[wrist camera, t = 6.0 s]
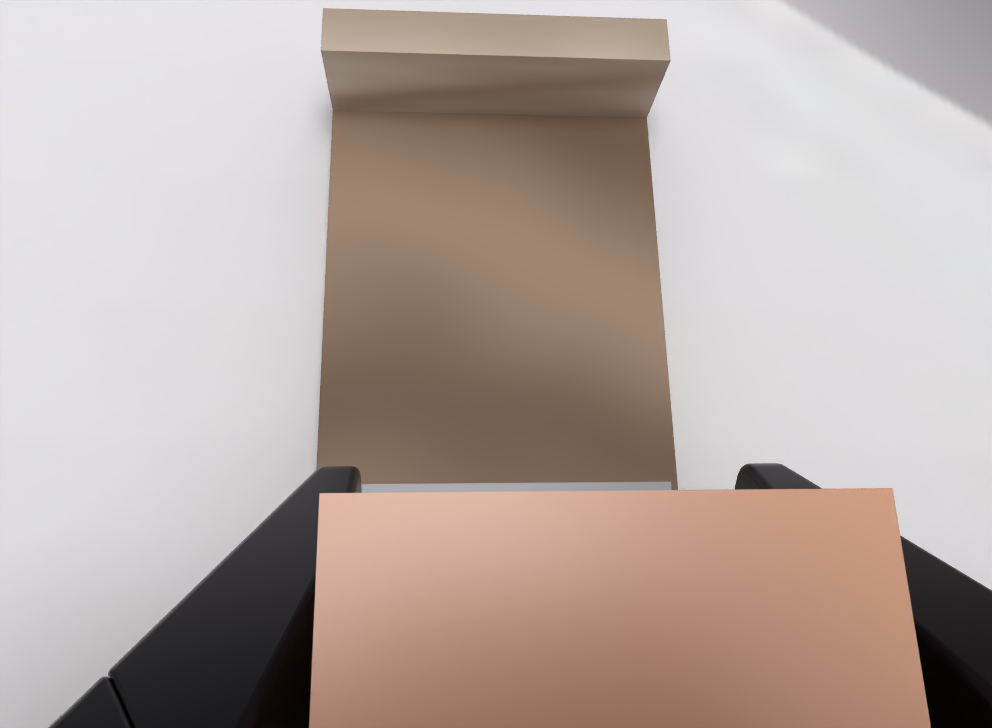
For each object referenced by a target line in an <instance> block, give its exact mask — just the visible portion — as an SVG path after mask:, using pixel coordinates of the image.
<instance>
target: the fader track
mask: <svg viewBox="0 0 992 728" xmlns="http://www.w3.org/2000/svg"><path fill="white" fill-rule="evenodd" d="M321 53H322V58H323V63H324V68H325V73H326V78H327V83H328V88H329V93H330V98H331V103H332V108H333V120H332V142H331V164H330V186H329V208H328V230H327V252H326V275H325V297H324V319H323V341H322V363H321V385H320V407H319V429H318V451H317V469H318V468H320V467H323V466H354V467H357V468H358V469H359V471H360V474H361V484H443V483H568V482H671V489H672V490H678V485H677V473H676V461H675V449H674V437H673V425H672V414H671V402H670V390H669V378H668V366H667V354H666V342H665V330H664V318H663V306H662V295H661V283H660V271H659V259H658V247H657V235H656V223H655V211H654V199H653V187H652V176H651V164H650V152H649V140H648V128H647V116H648V113H649V111H650V108H651V106H652V104H653V101H654V99H655V96H656V94H657V92H658V89H659V87H660V84H661V82H662V80H663V77H664V75H665V72H666V70H667V68H668V65H669V63H670V50H669V40H668V29H667V19H637V18H607V17H576V16H545V15H514V14H483V13H452V12H422V11H391V10H360V9H329V8H323V20H322V39H321Z"/></svg>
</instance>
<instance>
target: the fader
mask: <svg viewBox="0 0 992 728" xmlns="http://www.w3.org/2000/svg"><path fill="white" fill-rule="evenodd" d="M361 486H362V493H319V515H318V538H317V560H316V583H315V606H314V629H313V651H312V674H311V697H310V720H309V728H931V725H930V719H929V712H928V706H927V700H926V694H925V688H924V681H923V675H922V669H921V663H920V656H919V650H918V644H917V638H916V632H915V625H914V619H913V613H912V607H911V601H910V594H909V588H908V582H907V576H906V569H905V563H904V557H903V551H902V545H901V538H900V532H899V526H898V520H897V513H896V507H895V501H894V495H893V489H892V488H860V489H746V490H672V489H671V482H568V483H443V484H361Z"/></svg>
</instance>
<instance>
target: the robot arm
mask: <svg viewBox="0 0 992 728" xmlns="http://www.w3.org/2000/svg"><path fill="white" fill-rule="evenodd" d="M746 489H822V488H820V487H819V486H817V485H815V484H814V483H812V482H810V481H809V480H807V479H805V478H804V477H802V476H800V475H799V474H797V473H795V472H794V471H792V470H790V469H789V468H787V467H785V466H784V465H782V464H777V463H763V464H746V465H744V466H743V467H742V468H741V469H740V471H739V473H738V476H737V480H736V485H735V490H746ZM319 493H362V486H361V474H360V471H359V469H358V468H357V467H354V466H323V467H320V468H318V469H317V470H316V471H315V472H314V473H313V474H312V475H311V476H310V477H309V478H308V479H307V480H306V481H304V482H303V483H302V484H301V485H300V486H299V487H298V488H297V489H296V490H295V491H294V492H293V493H292V494H291V495H290V496H289V497H288V498H287V499H286V500H285V501H284V502H283V503H282V504H281V505H280V506H279V507H278V508H277V509H276V510H274V511H273V512H272V513H271V514H270V515H269V516H268V517H267V518H266V519H265V520H264V521H263V522H262V523H261V524H260V525H259V526H258V527H257V528H256V529H255V530H254V531H253V532H252V533H251V534H250V535H249V536H248V537H247V538H246V539H244V540H243V541H242V542H241V543H240V544H239V545H238V546H237V547H236V548H235V549H234V550H233V551H232V552H231V553H230V554H229V555H228V556H227V557H226V558H225V559H224V560H223V561H222V562H221V563H220V564H219V565H218V566H217V567H216V568H214V569H213V570H212V571H211V572H210V573H209V574H208V575H207V576H206V577H205V578H204V579H203V580H202V581H201V582H200V583H199V584H198V585H197V586H196V587H195V588H194V589H193V590H192V591H191V592H190V593H189V594H188V595H187V596H186V597H185V598H183V599H182V600H181V601H180V602H179V603H178V604H177V605H176V606H175V607H174V608H173V609H172V610H171V611H170V612H169V613H168V614H167V615H166V616H165V617H164V618H163V619H162V620H161V621H160V622H159V623H158V624H157V625H156V626H155V627H153V628H152V629H151V630H150V631H149V632H148V633H147V634H146V635H145V636H144V637H143V638H142V639H141V640H140V641H139V642H138V643H137V644H136V645H135V646H134V647H133V648H132V649H131V650H130V651H129V652H128V653H127V654H126V655H125V656H123V657H122V658H121V659H120V660H119V661H118V662H117V663H116V664H115V665H114V666H113V667H112V668H111V669H110V670H109V672H108V677H109V678H108V677H102V678H100V679H99V680H98V681H97V682H96V683H95V684H94V685H93V686H92V687H91V688H90V689H89V690H88V691H87V692H86V693H85V694H84V695H83V696H82V697H81V698H80V699H79V700H77V701H76V702H75V703H74V704H73V705H72V706H71V707H70V708H69V709H68V710H67V711H66V712H65V713H64V714H63V715H62V716H60V717H59V718H58V719H57V720H56V721H55V722H54V723H53V724H52V725H51V726H50V727H48V728H309V720H310V697H311V674H312V651H313V629H314V606H315V583H316V560H317V538H318V515H319ZM900 538H901V545H902V551H903V557H904V563H905V569H906V576H907V582H908V588H909V594H910V601H911V607H912V613H913V619H914V625H915V632H916V638H917V644H918V650H919V656H920V663H921V669H922V675H923V681H924V688H925V694H926V700H927V706H928V712H929V719H930V725H931V728H992V590H990V589H988V588H987V587H985V586H983V585H982V584H980V583H978V582H977V581H975V580H973V579H972V578H970V577H968V576H967V575H965V574H963V573H962V572H960V571H958V570H957V569H955V568H953V567H952V566H950V565H948V564H947V563H945V562H943V561H942V560H940V559H938V558H937V557H935V556H933V555H932V554H930V553H928V552H927V551H925V550H923V549H922V548H920V547H918V546H917V545H915V544H914V543H912V542H910V541H909V540H907V539H905V538H904V537H902V536H900Z"/></svg>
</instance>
